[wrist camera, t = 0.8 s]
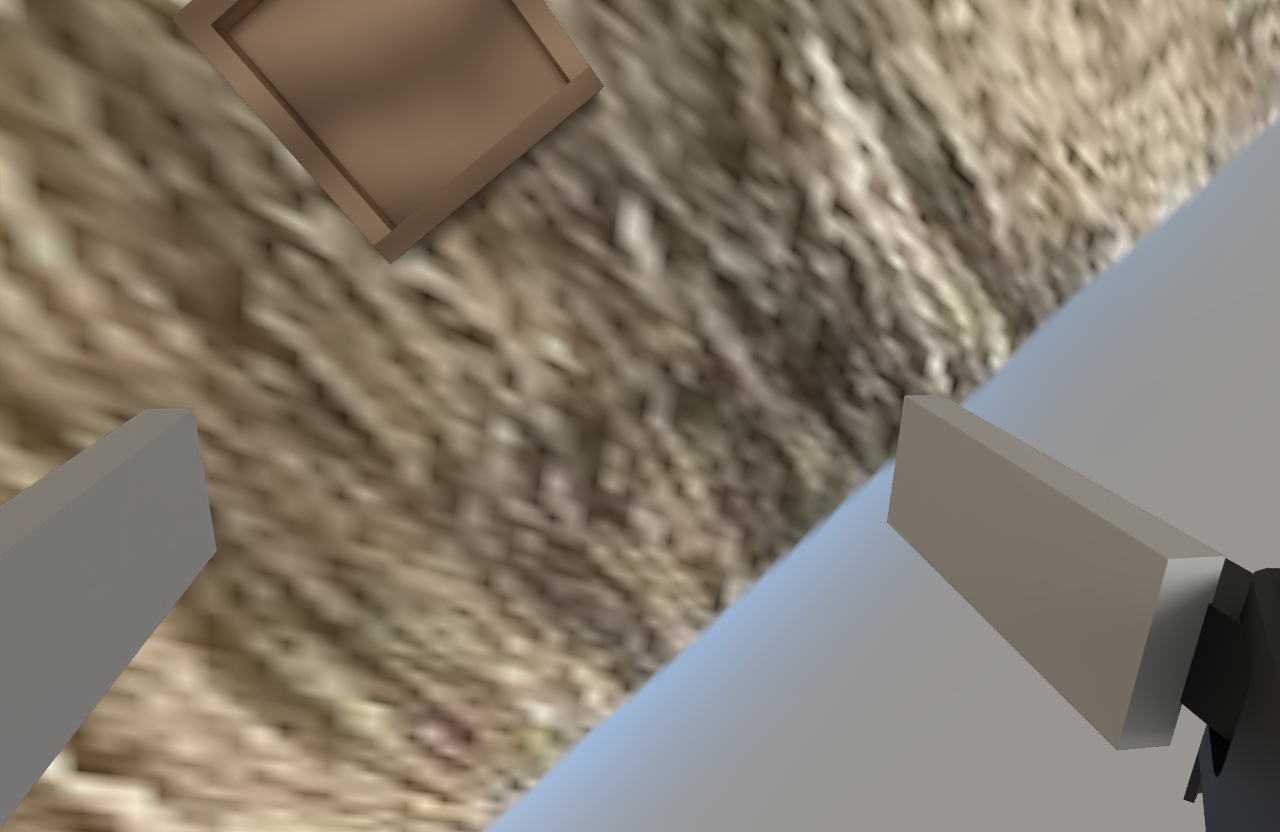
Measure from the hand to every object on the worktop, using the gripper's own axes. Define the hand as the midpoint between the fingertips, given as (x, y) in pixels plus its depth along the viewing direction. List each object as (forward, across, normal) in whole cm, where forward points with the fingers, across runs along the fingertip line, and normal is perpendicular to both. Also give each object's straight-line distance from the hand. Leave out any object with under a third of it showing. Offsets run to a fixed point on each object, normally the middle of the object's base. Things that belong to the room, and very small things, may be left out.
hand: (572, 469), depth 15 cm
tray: (+25, -6, +9) cm, 27 cm away
